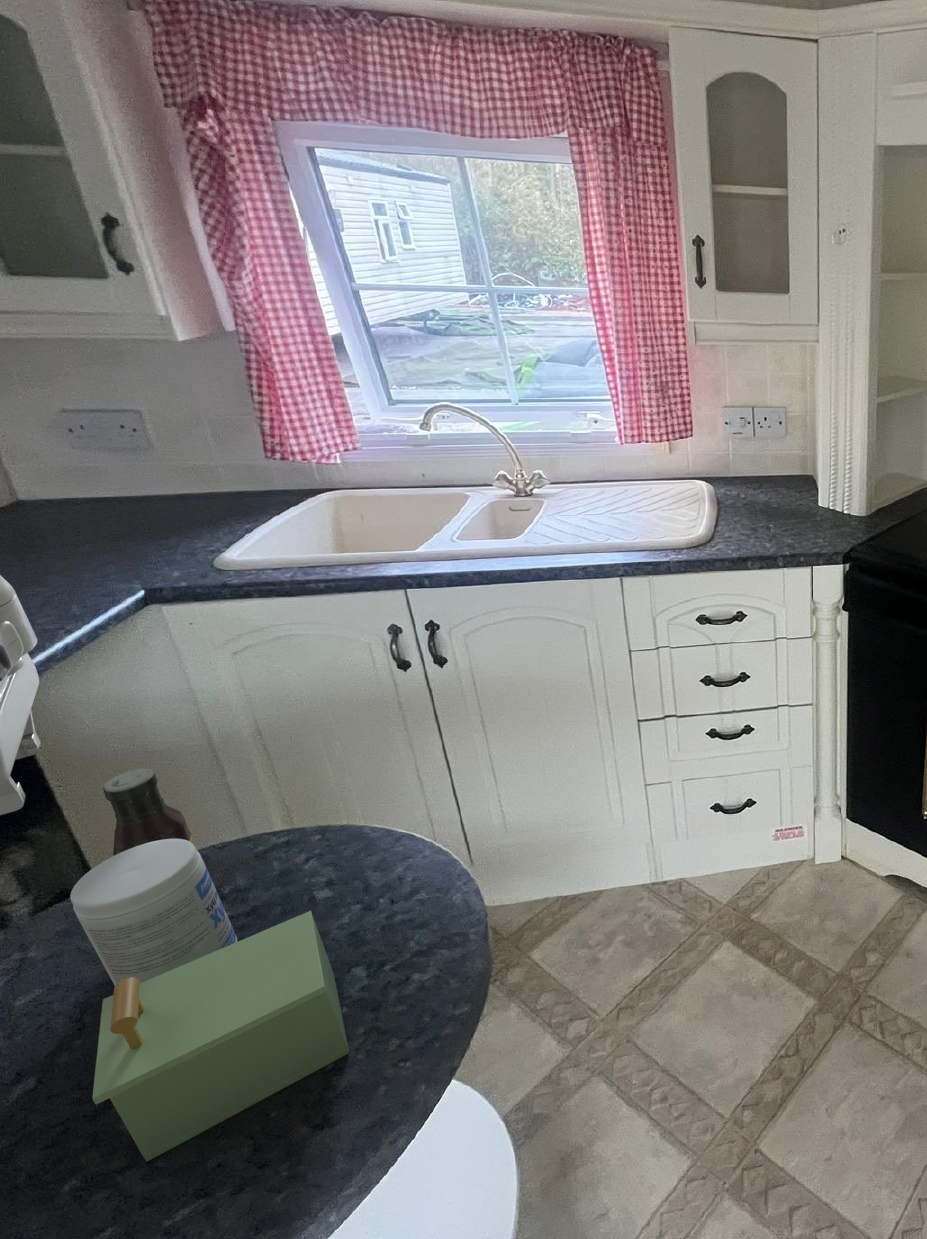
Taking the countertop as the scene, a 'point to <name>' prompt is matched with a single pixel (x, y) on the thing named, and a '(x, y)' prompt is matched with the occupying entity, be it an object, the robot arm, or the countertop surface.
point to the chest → (235, 1072)
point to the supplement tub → (151, 910)
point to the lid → (204, 1003)
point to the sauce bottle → (142, 811)
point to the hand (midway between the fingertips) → (19, 779)
